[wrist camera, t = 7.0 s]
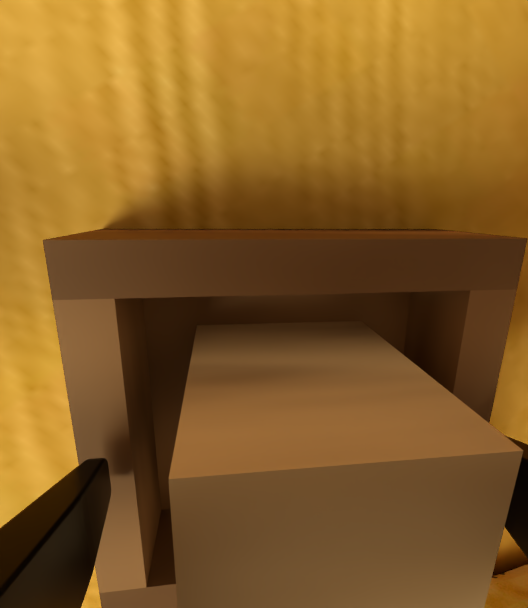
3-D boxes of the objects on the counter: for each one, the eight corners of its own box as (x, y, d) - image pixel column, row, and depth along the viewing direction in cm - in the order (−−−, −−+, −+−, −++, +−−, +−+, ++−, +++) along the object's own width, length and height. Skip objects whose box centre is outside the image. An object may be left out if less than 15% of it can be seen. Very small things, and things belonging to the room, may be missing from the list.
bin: (400, 490, 14) (456, 579, 11) (134, 516, 13) (104, 625, 9) (435, 229, 11) (527, 238, 8) (101, 229, 10) (42, 239, 7)
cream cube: (348, 457, 12) (465, 683, 6) (202, 468, 11) (186, 730, 6) (361, 320, 11) (523, 450, 5) (197, 325, 10) (168, 479, 4)
